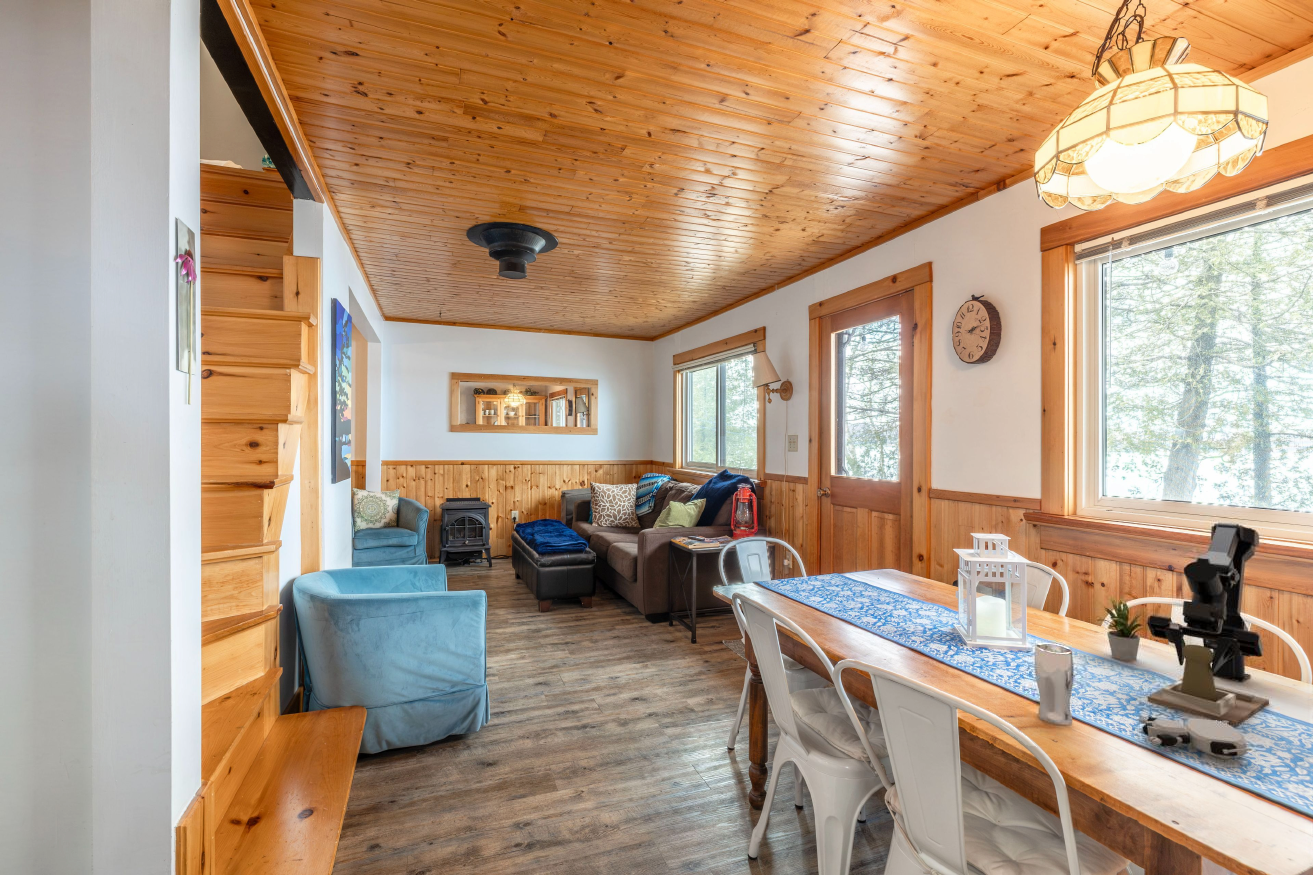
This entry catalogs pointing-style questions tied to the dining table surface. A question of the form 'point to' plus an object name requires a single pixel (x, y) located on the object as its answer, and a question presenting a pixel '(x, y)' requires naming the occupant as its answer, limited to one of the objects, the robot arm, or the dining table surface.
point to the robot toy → (1197, 736)
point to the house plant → (1123, 632)
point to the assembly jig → (1212, 703)
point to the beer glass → (1054, 682)
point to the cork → (1198, 673)
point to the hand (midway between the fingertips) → (1196, 667)
